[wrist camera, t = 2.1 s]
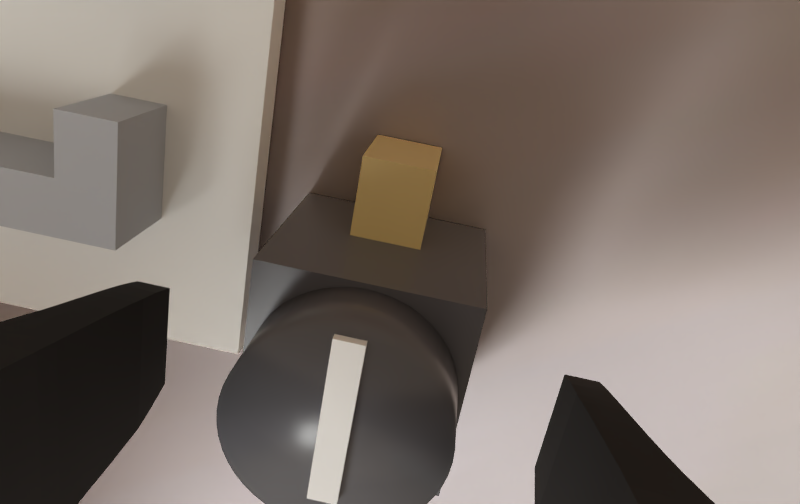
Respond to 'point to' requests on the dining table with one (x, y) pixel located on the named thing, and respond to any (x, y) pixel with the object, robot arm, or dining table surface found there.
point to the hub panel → (137, 153)
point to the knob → (357, 343)
